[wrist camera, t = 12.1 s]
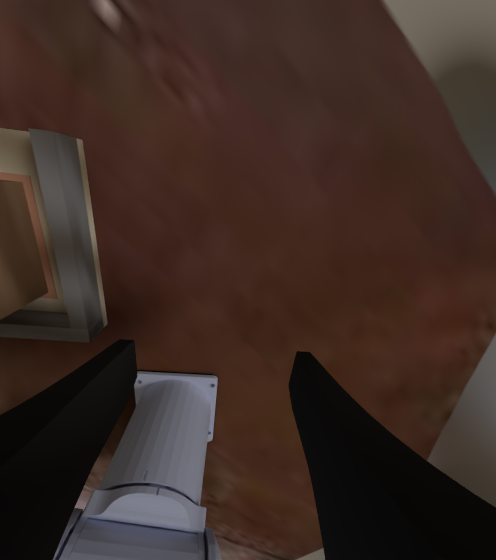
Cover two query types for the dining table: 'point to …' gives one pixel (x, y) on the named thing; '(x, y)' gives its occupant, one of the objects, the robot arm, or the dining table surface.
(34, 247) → the walnut block
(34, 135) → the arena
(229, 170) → the dining table surface
